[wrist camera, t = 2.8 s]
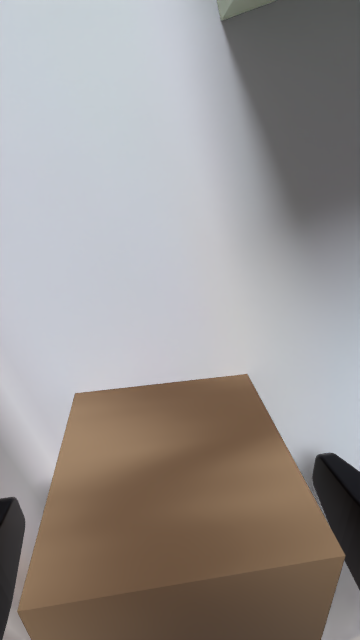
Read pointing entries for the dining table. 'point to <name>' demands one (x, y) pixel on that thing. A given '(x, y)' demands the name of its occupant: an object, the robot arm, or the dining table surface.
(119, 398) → the walnut block
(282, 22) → the dining table surface
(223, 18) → the block
